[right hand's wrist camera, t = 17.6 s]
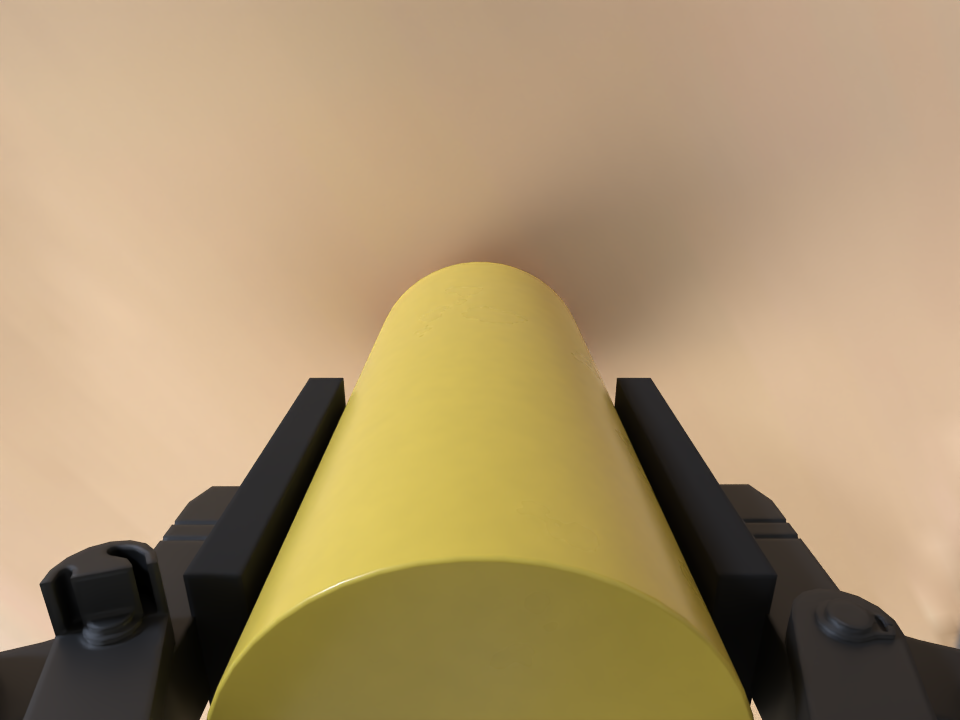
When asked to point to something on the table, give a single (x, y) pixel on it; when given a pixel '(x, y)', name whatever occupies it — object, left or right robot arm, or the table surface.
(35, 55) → the table surface
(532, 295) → the cylinder
